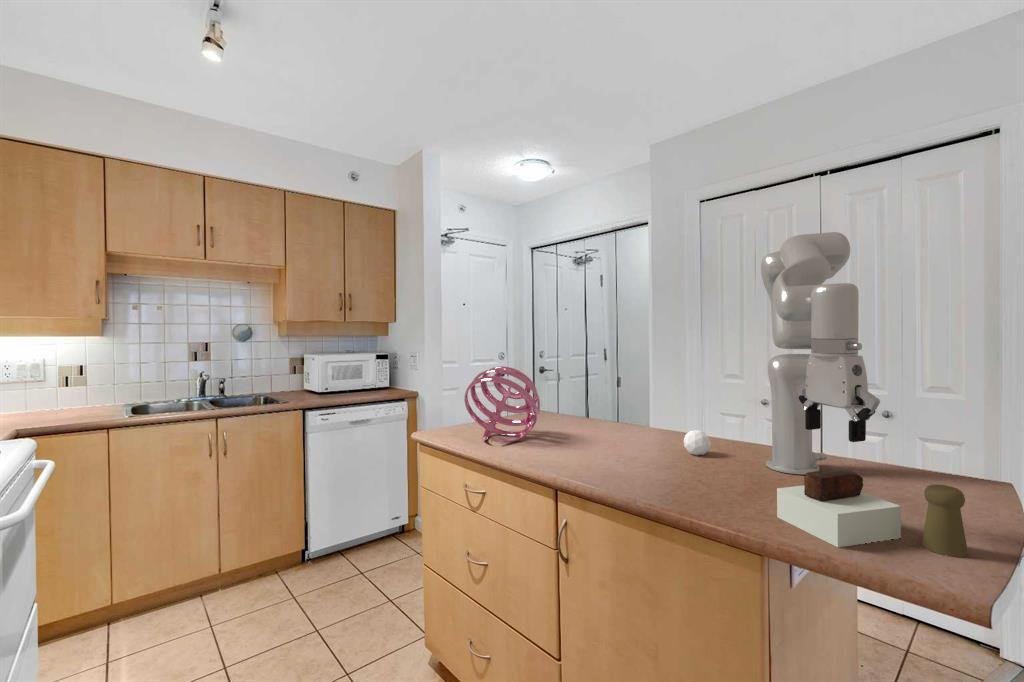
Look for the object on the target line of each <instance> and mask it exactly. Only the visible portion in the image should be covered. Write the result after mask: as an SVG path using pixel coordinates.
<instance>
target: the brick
mask: <svg viewBox="0 0 1024 682" xmlns="http://www.w3.org/2000/svg"><path fill="white" fill-rule="evenodd" d="M803 480H804V481H803V482H804V483H803V484H804V488H805V489H804V492H805V493H804V494H805V495H806V496H808V497H811V498H814V499H816V500H819V501H828V500H836V499H841V498H847V497H853V496H859V495H860V493H861V492H862V490H863V488H864V487H863V486H864V483H863V482H864V479H863V477H862V476H861V475H860V474H858V473H856V472H854V471H851V470H848V469H846V468H845V469H844V468H833V469H826V470H819V471H813V472H808V473H806V474H805V475H804V478H803Z"/></svg>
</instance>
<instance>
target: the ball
mask: <svg viewBox="0 0 1024 682" xmlns="http://www.w3.org/2000/svg"><path fill="white" fill-rule="evenodd" d="M711 444H712V442H711V440H710V436H708V435H707V433H706V432H705V431H702V430H699V429H694V430H690V431H688V432H687V433H686V434H685V436H684V439H683V446H684V448H685V450H686V451H687V452H688V453H689V454H691V455H694V456H701V455H705V454H706V453H708V452H709V450H710V448H711Z"/></svg>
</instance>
